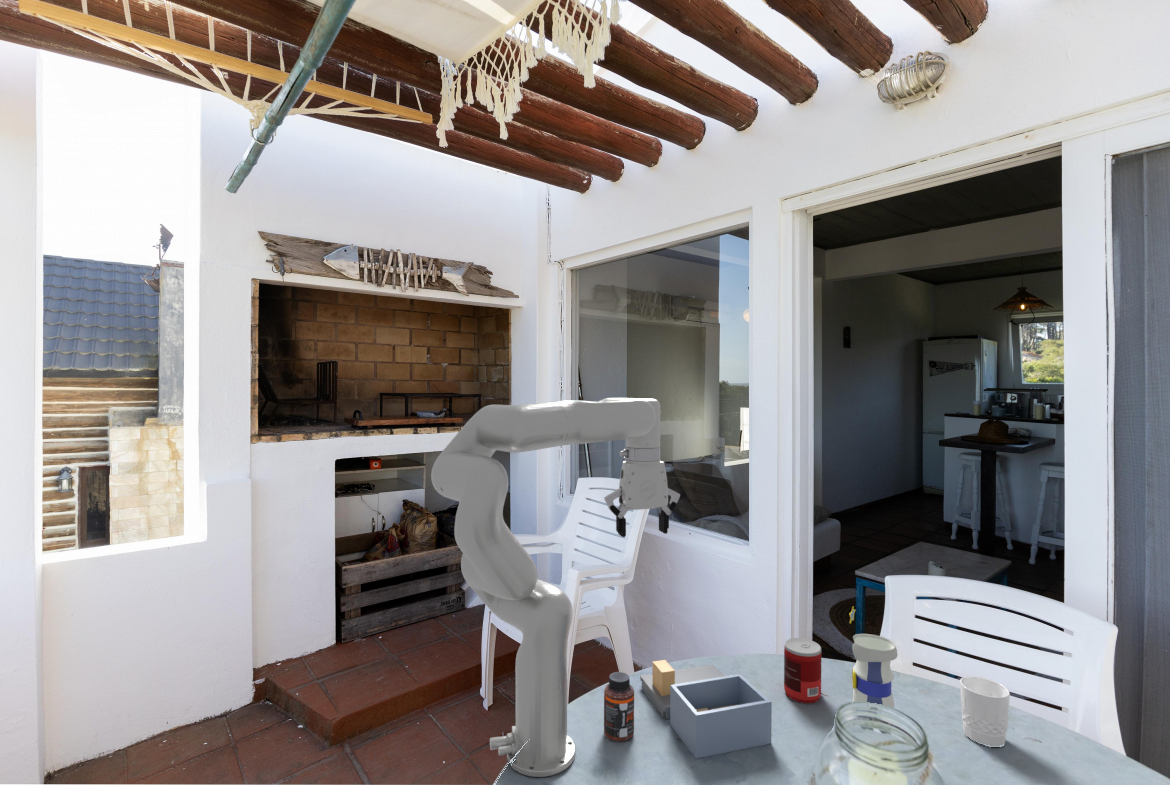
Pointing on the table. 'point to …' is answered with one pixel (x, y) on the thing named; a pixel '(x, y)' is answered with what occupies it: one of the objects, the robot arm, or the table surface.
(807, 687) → the canned food
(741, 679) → the tub
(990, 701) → the white cup
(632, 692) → the supplement bottle
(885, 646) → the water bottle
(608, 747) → the table surface
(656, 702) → the lid
